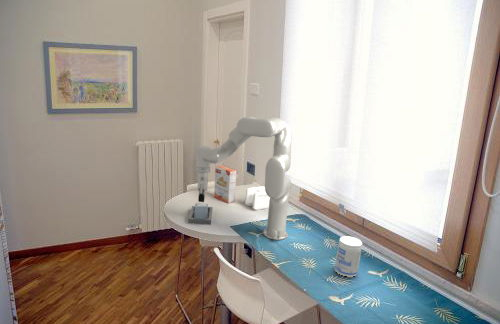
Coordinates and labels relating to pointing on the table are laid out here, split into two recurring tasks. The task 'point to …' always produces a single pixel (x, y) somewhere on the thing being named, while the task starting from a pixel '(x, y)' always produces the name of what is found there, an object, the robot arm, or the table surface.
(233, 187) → the cracker box
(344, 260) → the supplement tub
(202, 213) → the module
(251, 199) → the cable organizer
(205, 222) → the grey rectangular frame
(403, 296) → the table surface
